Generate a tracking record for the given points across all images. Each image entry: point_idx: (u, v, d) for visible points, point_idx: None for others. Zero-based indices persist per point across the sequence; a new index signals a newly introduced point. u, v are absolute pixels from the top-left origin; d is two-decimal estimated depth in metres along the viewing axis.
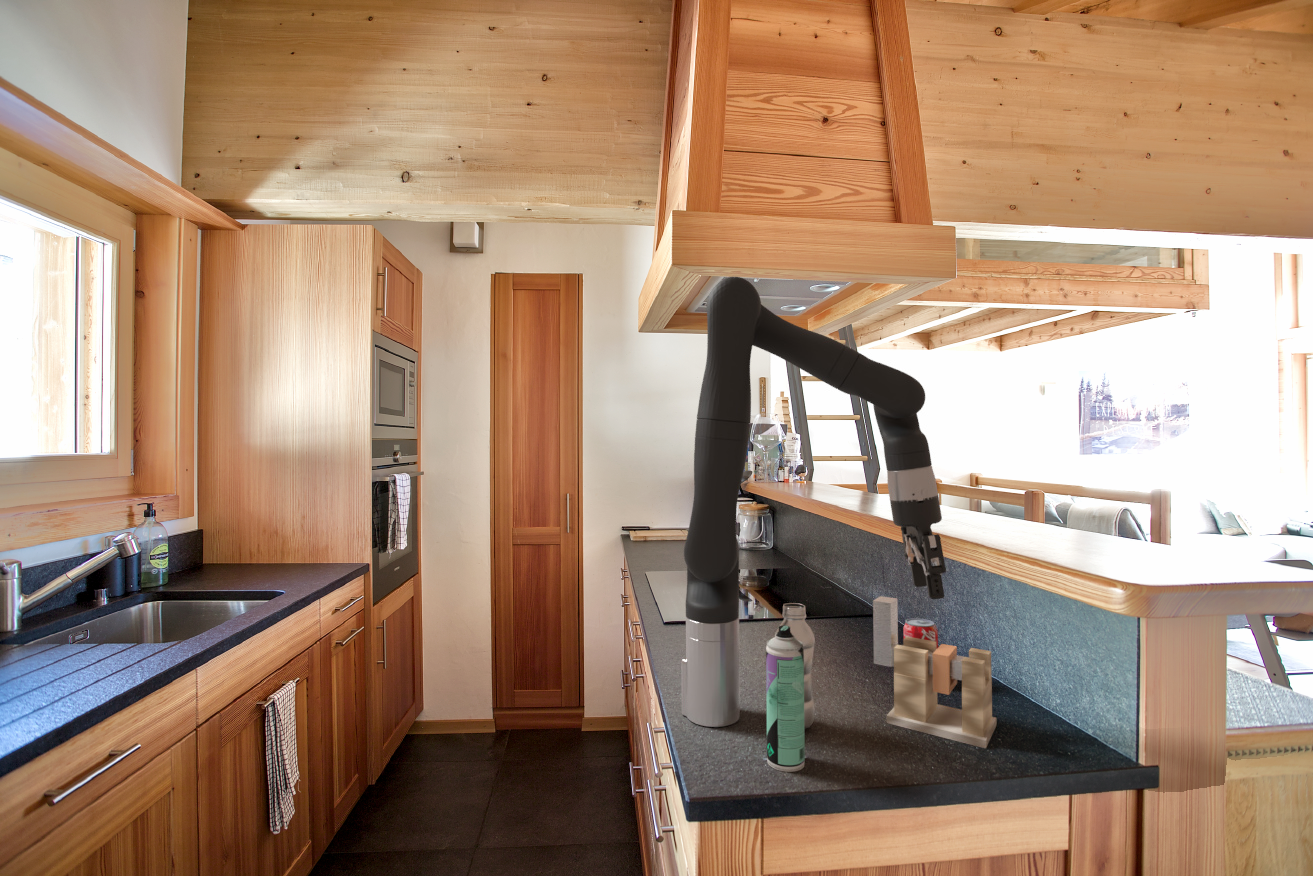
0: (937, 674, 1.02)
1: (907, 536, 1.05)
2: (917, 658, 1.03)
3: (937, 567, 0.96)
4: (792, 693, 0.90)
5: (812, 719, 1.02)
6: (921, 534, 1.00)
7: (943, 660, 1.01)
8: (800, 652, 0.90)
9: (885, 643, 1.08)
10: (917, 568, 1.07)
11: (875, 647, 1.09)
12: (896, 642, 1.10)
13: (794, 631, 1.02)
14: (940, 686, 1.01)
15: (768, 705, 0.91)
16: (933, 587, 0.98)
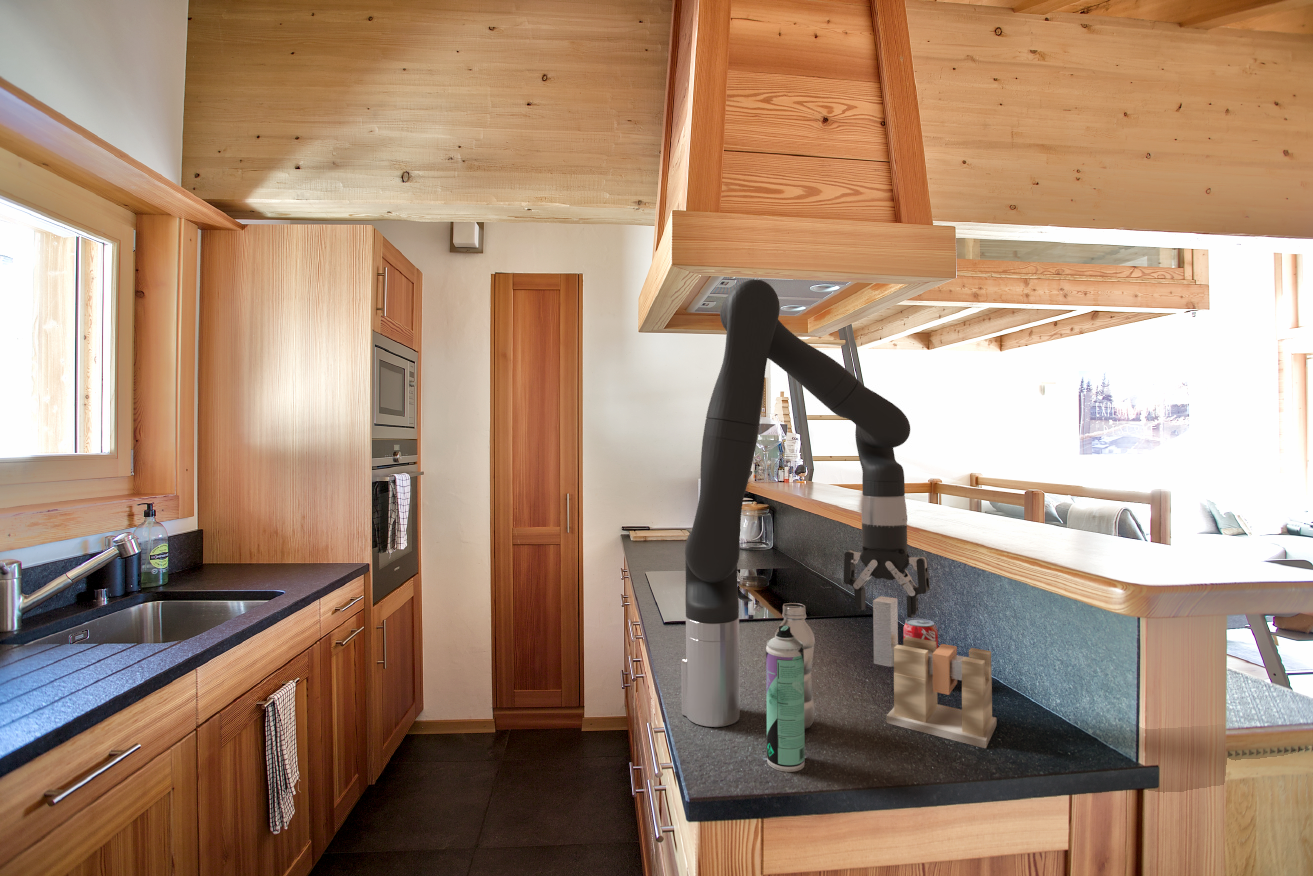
0: (937, 674, 1.02)
1: (876, 560, 1.09)
2: (917, 658, 1.03)
3: (926, 586, 1.06)
4: (792, 693, 0.90)
5: (812, 719, 1.02)
6: (906, 557, 1.07)
7: (943, 660, 1.01)
8: (800, 652, 0.90)
9: (885, 643, 1.08)
10: (862, 592, 1.12)
11: (875, 647, 1.09)
12: (896, 642, 1.10)
13: (794, 631, 1.02)
14: (940, 686, 1.01)
15: (768, 705, 0.91)
16: (916, 606, 1.06)
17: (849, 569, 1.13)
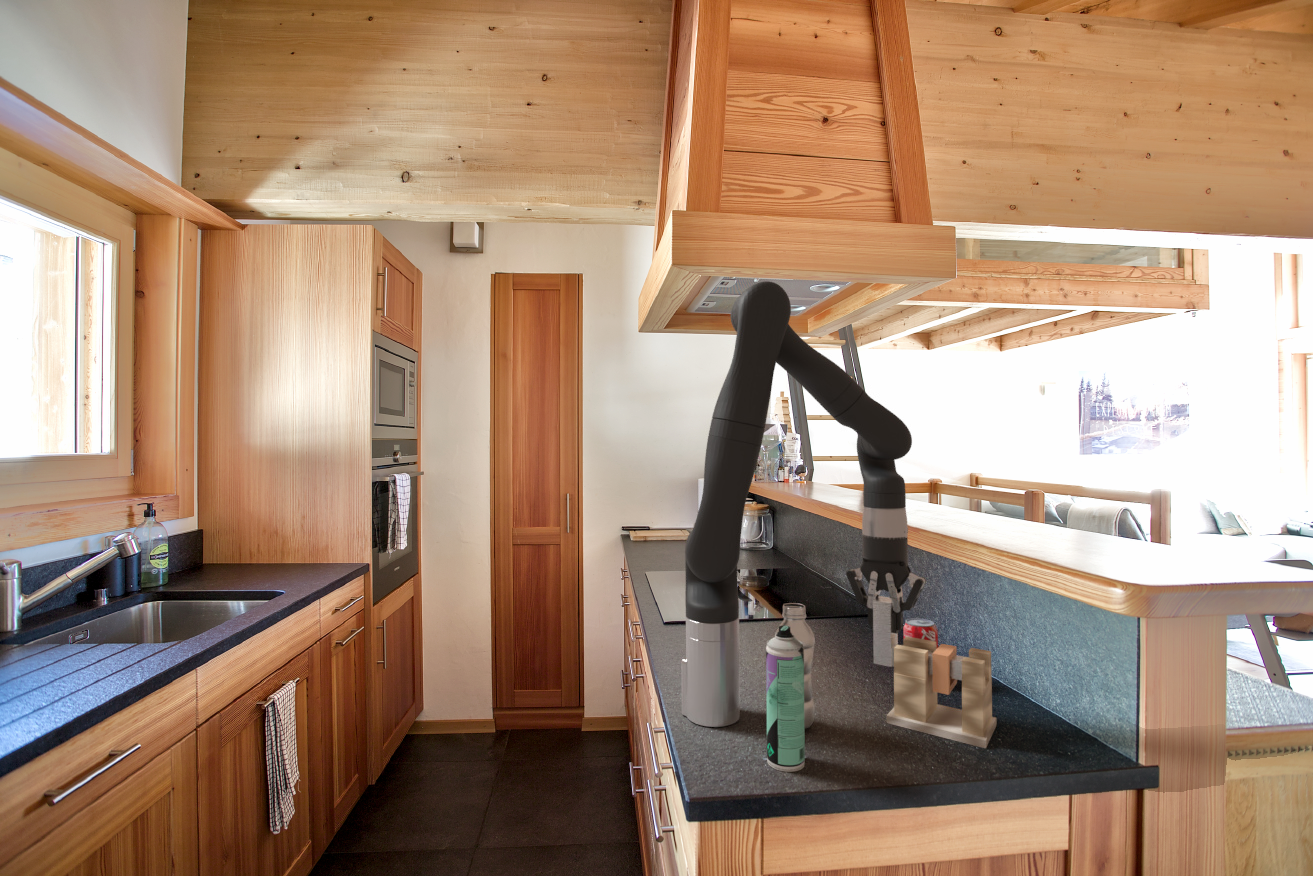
0: (937, 673, 1.02)
1: (875, 571, 1.09)
2: (917, 658, 1.03)
3: None
4: (792, 693, 0.90)
5: (812, 719, 1.02)
6: (908, 572, 1.07)
7: (943, 660, 1.01)
8: (800, 652, 0.90)
9: (885, 643, 1.08)
10: None
11: (875, 647, 1.09)
12: (896, 642, 1.10)
13: (794, 631, 1.02)
14: (940, 686, 1.02)
15: (768, 705, 0.91)
16: (901, 622, 1.08)
17: (857, 587, 1.12)
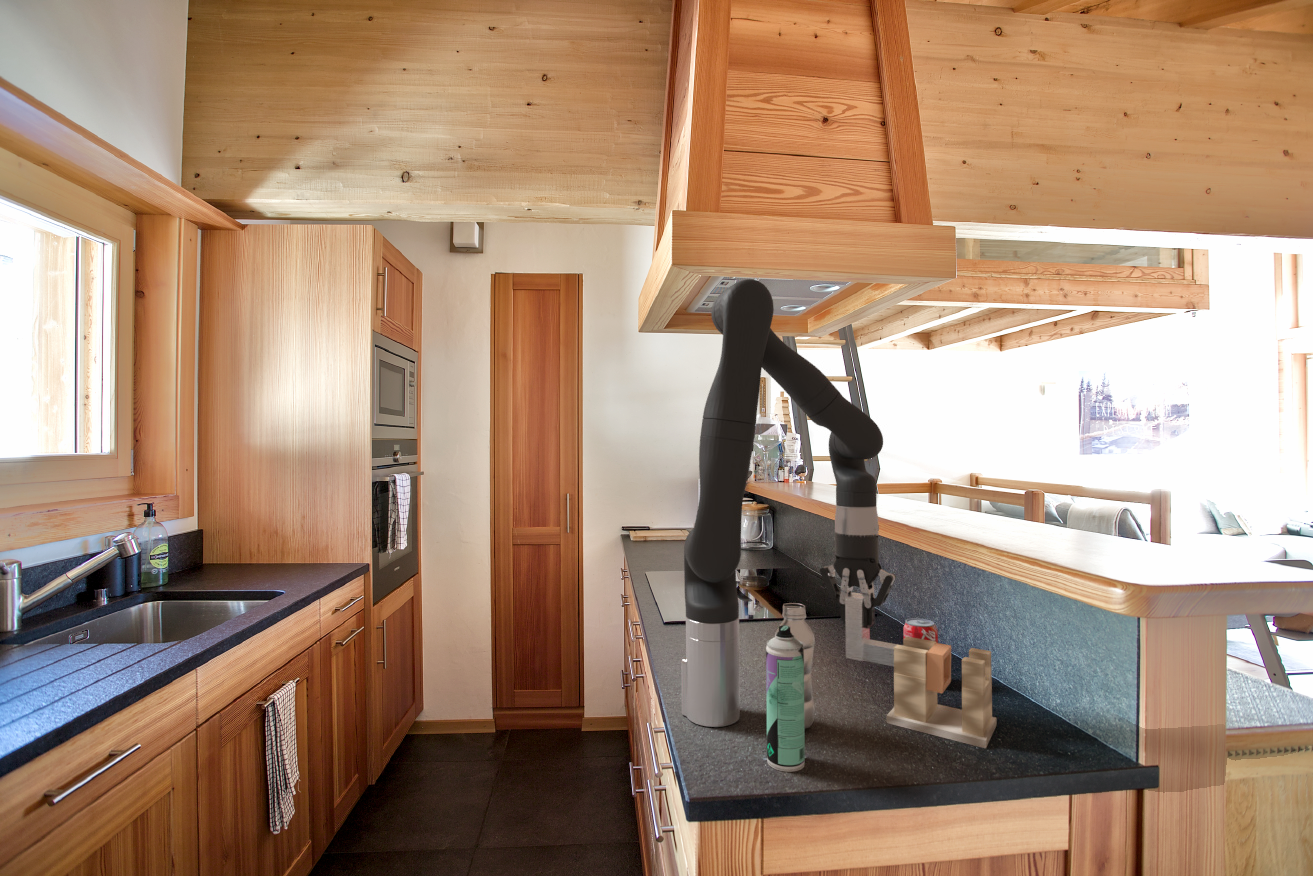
0: (931, 672, 1.02)
1: (847, 568, 1.12)
2: (917, 658, 1.03)
3: None
4: (792, 693, 0.90)
5: (812, 719, 1.02)
6: (878, 569, 1.10)
7: (937, 659, 1.02)
8: (800, 652, 0.90)
9: (857, 637, 1.11)
10: None
11: (847, 642, 1.12)
12: (868, 637, 1.13)
13: (794, 631, 1.02)
14: (934, 685, 1.02)
15: (768, 705, 0.91)
16: (872, 617, 1.11)
17: (830, 583, 1.15)
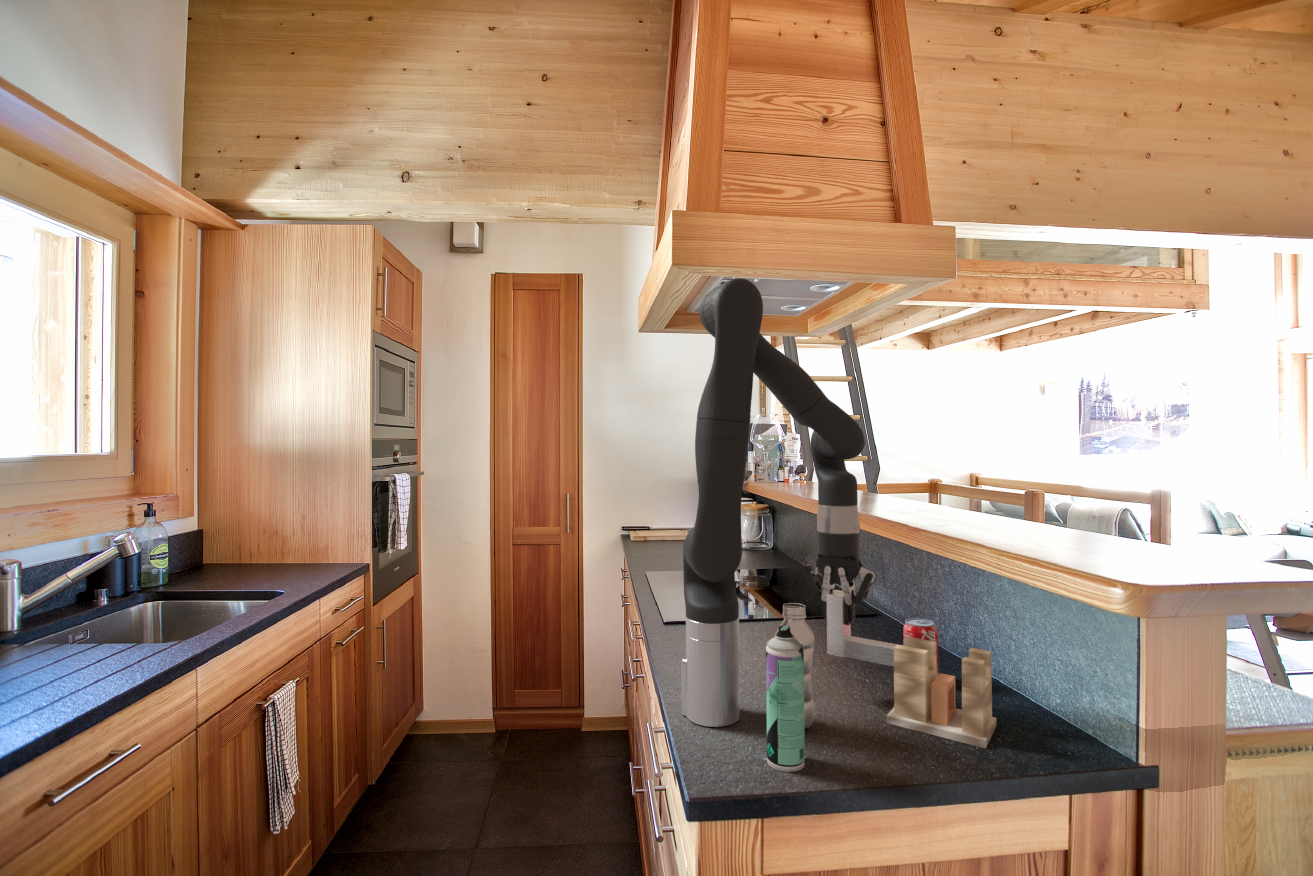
0: (935, 704, 1.02)
1: (828, 566, 1.14)
2: (917, 658, 1.03)
3: None
4: (792, 693, 0.90)
5: (812, 719, 1.02)
6: (859, 566, 1.12)
7: (941, 691, 1.01)
8: (800, 652, 0.90)
9: (838, 634, 1.13)
10: None
11: (828, 638, 1.14)
12: (849, 633, 1.15)
13: (794, 631, 1.02)
14: (939, 717, 1.02)
15: (768, 705, 0.91)
16: (853, 614, 1.13)
17: (812, 581, 1.17)
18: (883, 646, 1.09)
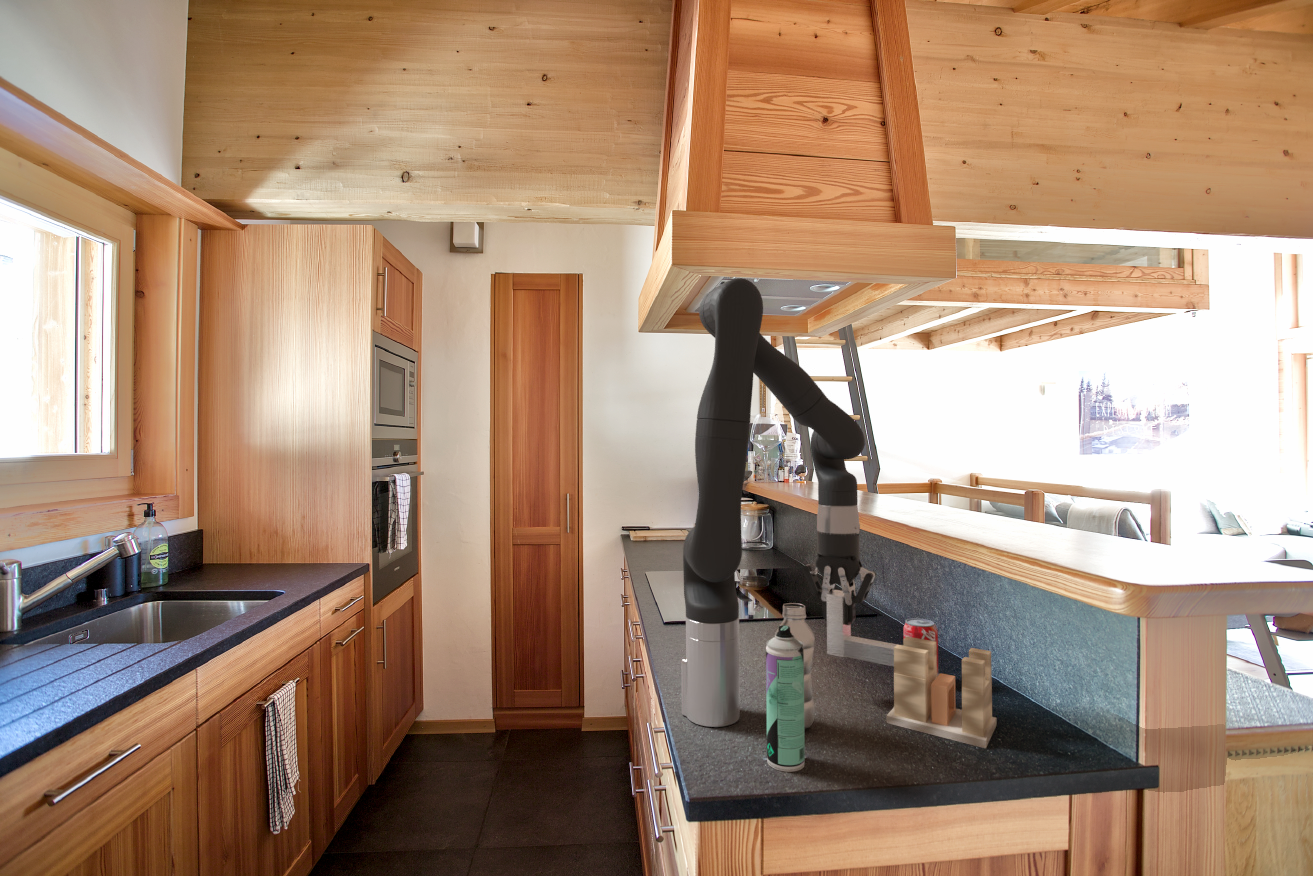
0: (935, 704, 1.02)
1: (828, 566, 1.14)
2: (917, 658, 1.03)
3: None
4: (792, 693, 0.90)
5: (812, 719, 1.02)
6: (859, 566, 1.12)
7: (941, 691, 1.01)
8: (800, 652, 0.90)
9: (838, 634, 1.13)
10: None
11: (828, 638, 1.14)
12: (849, 633, 1.15)
13: (794, 631, 1.02)
14: (939, 717, 1.02)
15: (768, 705, 0.91)
16: (853, 614, 1.13)
17: (812, 581, 1.17)
18: (883, 646, 1.09)
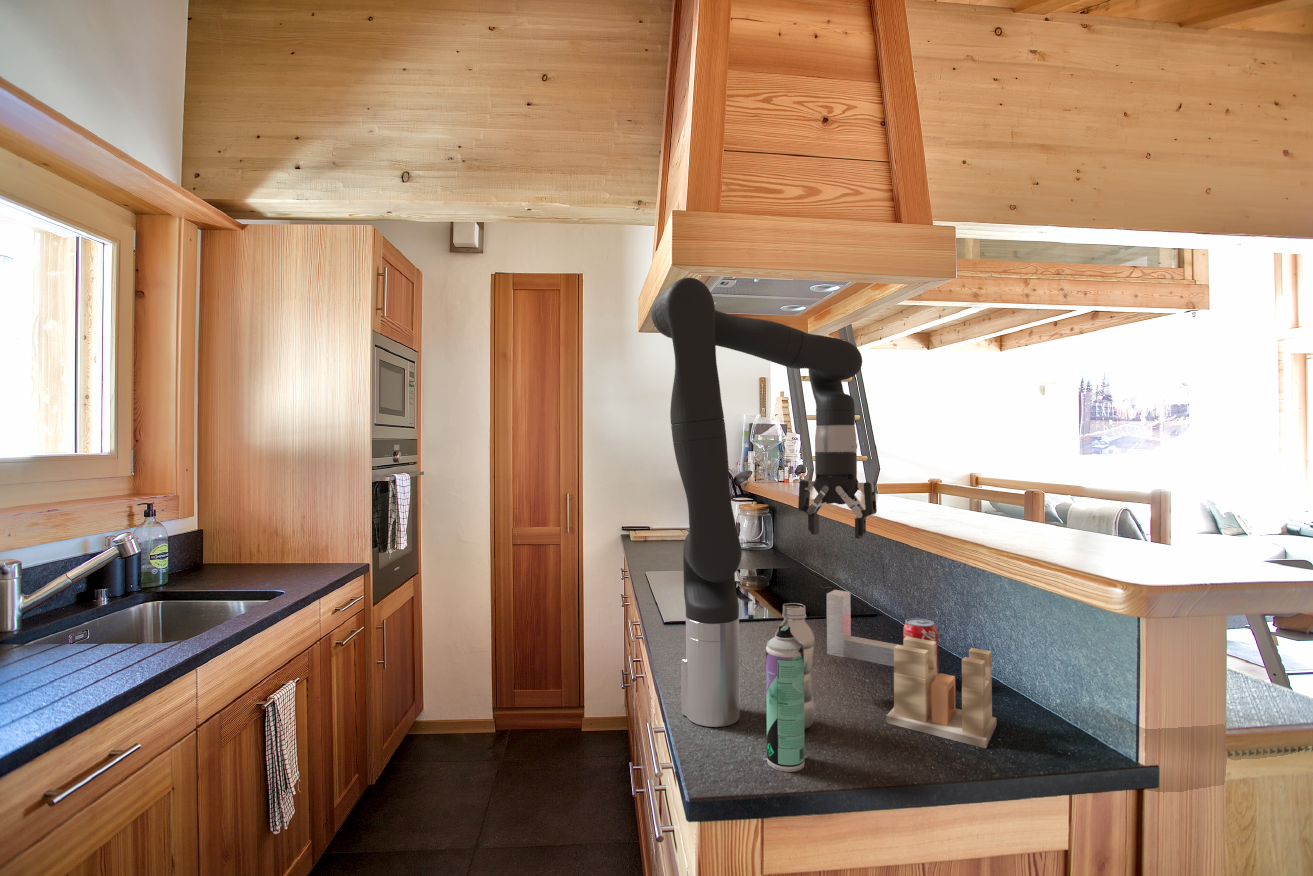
0: (935, 704, 1.02)
1: (827, 486, 1.16)
2: (917, 658, 1.03)
3: (873, 509, 1.13)
4: (792, 693, 0.90)
5: (812, 719, 1.02)
6: (855, 482, 1.14)
7: (941, 691, 1.01)
8: (800, 652, 0.90)
9: (838, 634, 1.13)
10: (816, 517, 1.19)
11: (828, 638, 1.14)
12: (849, 633, 1.15)
13: (794, 631, 1.02)
14: (939, 717, 1.02)
15: (768, 705, 0.91)
16: (863, 527, 1.13)
17: (803, 496, 1.19)
18: (883, 646, 1.09)
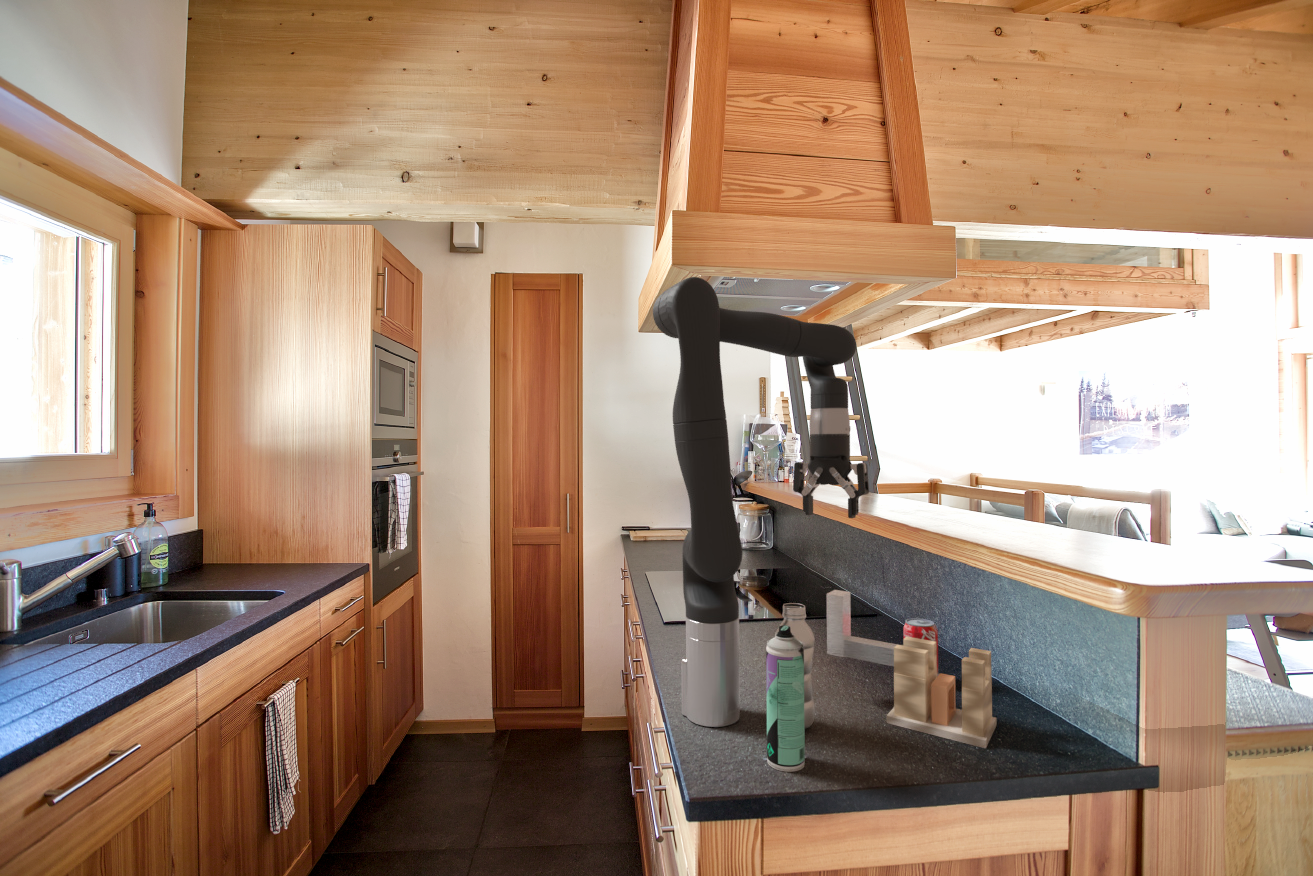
0: (935, 704, 1.02)
1: (821, 467, 1.19)
2: (917, 658, 1.03)
3: (865, 489, 1.16)
4: (792, 693, 0.90)
5: (812, 719, 1.02)
6: (848, 463, 1.17)
7: (941, 691, 1.01)
8: (800, 652, 0.90)
9: (838, 634, 1.13)
10: (810, 498, 1.22)
11: (828, 638, 1.14)
12: (849, 633, 1.15)
13: (794, 631, 1.02)
14: (939, 717, 1.02)
15: (768, 705, 0.91)
16: (856, 507, 1.17)
17: (798, 478, 1.23)
18: (883, 646, 1.09)
